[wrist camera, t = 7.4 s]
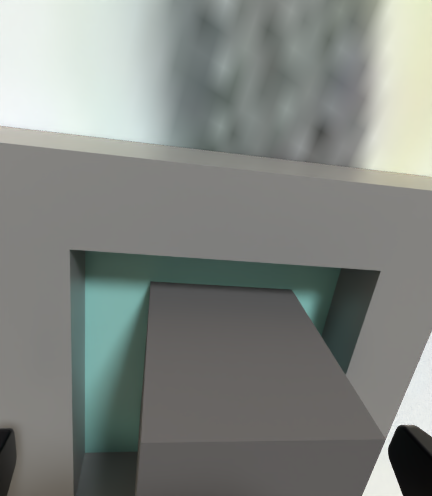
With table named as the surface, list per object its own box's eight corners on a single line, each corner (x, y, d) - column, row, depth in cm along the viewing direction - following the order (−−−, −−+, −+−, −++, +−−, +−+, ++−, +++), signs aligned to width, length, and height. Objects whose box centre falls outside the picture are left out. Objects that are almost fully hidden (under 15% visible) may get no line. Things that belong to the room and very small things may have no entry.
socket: (430, 176, 10) (488, 197, 8) (323, 477, 15) (346, 531, 13) (-6, 125, 8) (-52, 136, 7) (26, 487, 13) (3, 553, 11)
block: (296, 289, 11) (393, 438, 6) (264, 418, 13) (321, 605, 8) (150, 281, 10) (140, 443, 6) (139, 419, 12) (125, 624, 7)
